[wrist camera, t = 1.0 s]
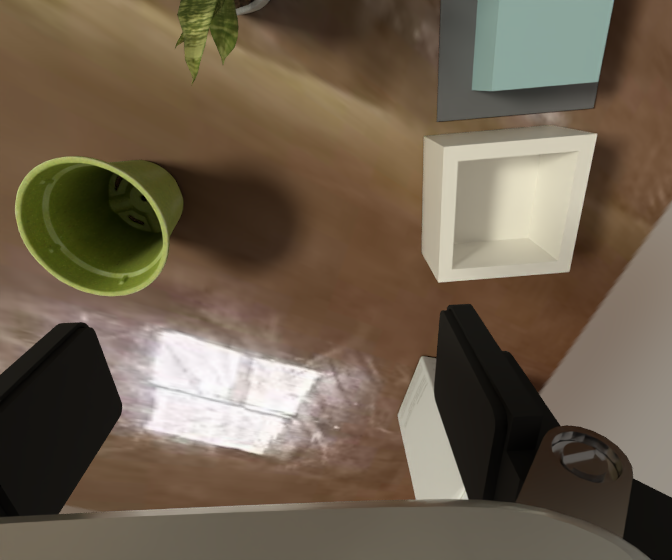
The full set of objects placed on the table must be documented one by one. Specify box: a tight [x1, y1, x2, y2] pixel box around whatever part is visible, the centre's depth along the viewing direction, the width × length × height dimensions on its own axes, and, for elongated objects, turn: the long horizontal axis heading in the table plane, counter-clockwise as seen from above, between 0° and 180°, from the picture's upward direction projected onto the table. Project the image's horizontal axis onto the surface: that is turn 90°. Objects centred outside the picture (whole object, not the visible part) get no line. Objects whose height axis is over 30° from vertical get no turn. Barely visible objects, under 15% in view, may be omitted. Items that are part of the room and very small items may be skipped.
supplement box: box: [398, 356, 468, 500], centre depth 37 cm, size 9×9×15 cm
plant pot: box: [15, 156, 183, 296], centre depth 29 cm, size 9×9×9 cm
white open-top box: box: [422, 125, 597, 282], centre depth 31 cm, size 10×10×6 cm
